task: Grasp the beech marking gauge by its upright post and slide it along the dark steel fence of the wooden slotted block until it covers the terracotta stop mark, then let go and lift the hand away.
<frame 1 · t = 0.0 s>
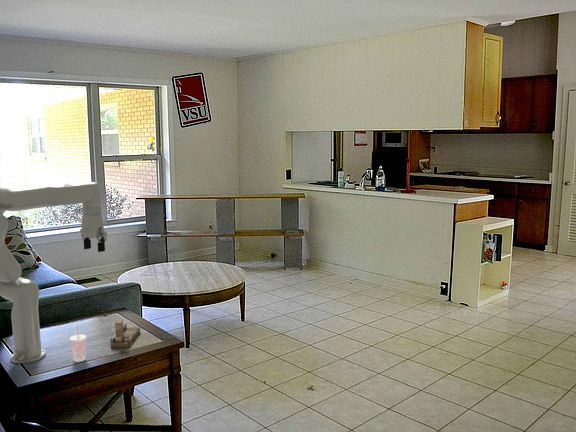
hand: (94, 250, 231), 37 cm above the table, tool pointing down, fingers open, 9 cm apart
beverage cup: (79, 359, 208), on the table
wooden slotted block: (125, 339, 227), on the table
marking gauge: (122, 330, 220), point 6 cm above the table, slide at 0.0 cm
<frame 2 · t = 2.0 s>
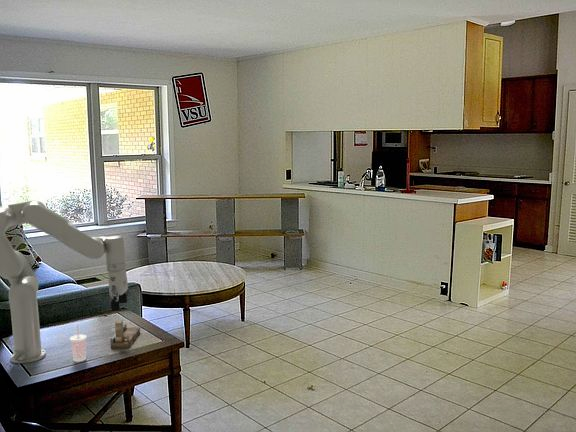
hand: (119, 306, 219), 17 cm above the table, tool pointing down, fingers open, 9 cm apart
nothing on the table moved.
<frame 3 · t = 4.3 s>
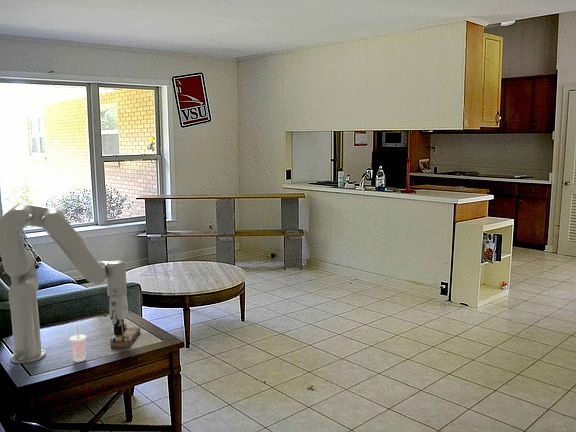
hand: (119, 333, 221), 5 cm above the table, tool pointing down, fingers closed on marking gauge, 2 cm apart
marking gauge: (122, 330, 220), point 6 cm above the table, slide at 0.0 cm, touching gripper
everything else where it was.
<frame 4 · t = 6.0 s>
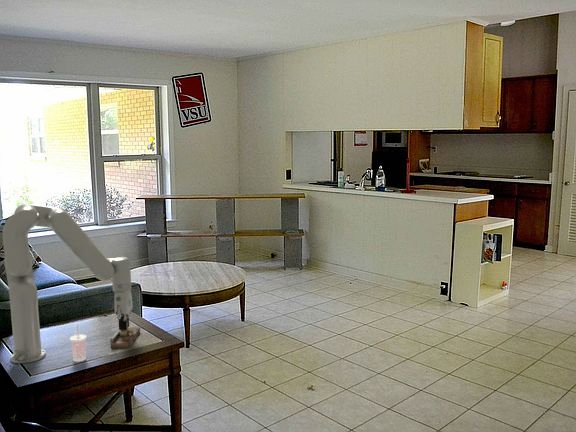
hand: (124, 327, 227), 5 cm above the table, tool pointing down, fingers closed on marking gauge, 2 cm apart
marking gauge: (126, 325, 227), point 6 cm above the table, slide at 6.3 cm, touching gripper
everything else where it was.
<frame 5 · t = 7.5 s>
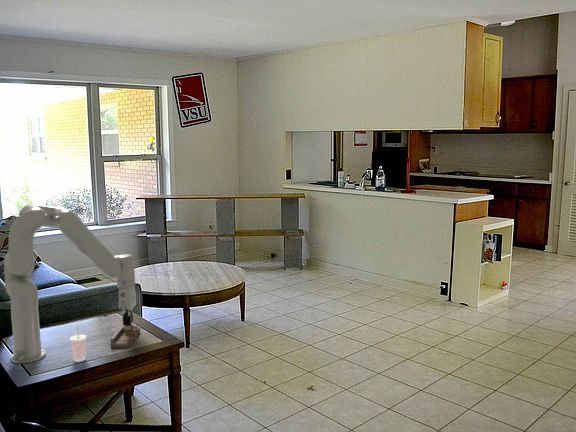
hand: (128, 323, 232), 5 cm above the table, tool pointing down, fingers closed on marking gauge, 2 cm apart
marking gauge: (130, 321, 232), point 6 cm above the table, slide at 12.0 cm, touching gripper
everything else where it was.
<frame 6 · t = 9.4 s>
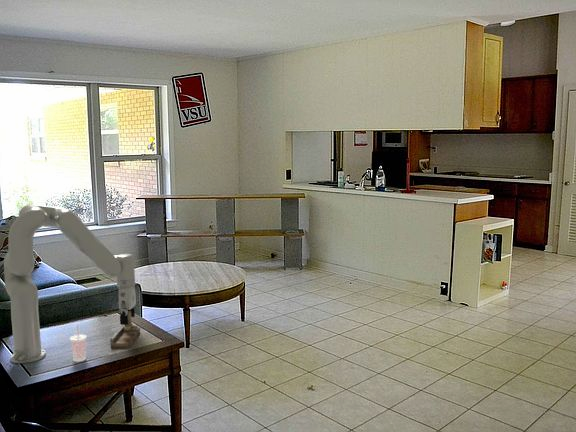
hand: (127, 320, 232), 6 cm above the table, tool pointing down, fingers open, 9 cm apart
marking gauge: (130, 321, 232), point 6 cm above the table, slide at 12.0 cm
everything else where it was.
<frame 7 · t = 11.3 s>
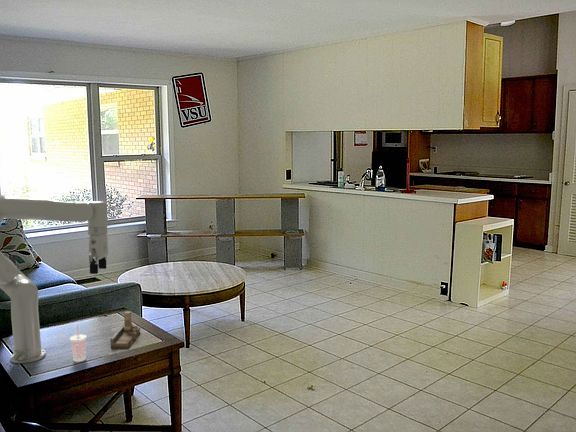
hand: (98, 271, 223), 30 cm above the table, tool pointing down, fingers open, 9 cm apart
nothing on the table moved.
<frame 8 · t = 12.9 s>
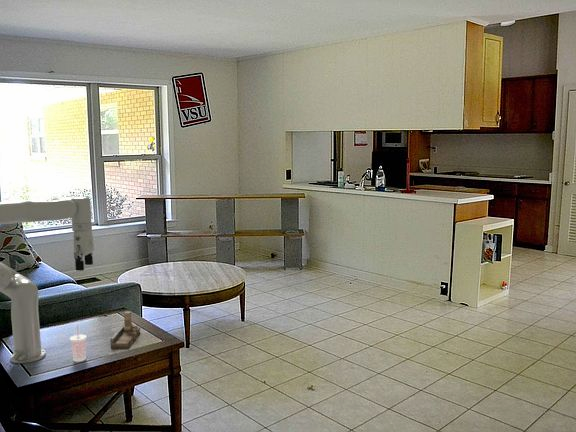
hand: (84, 267, 221), 32 cm above the table, tool pointing down, fingers open, 9 cm apart
nothing on the table moved.
at the end: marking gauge slide at 12.0 cm; the gripper is holding nothing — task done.
